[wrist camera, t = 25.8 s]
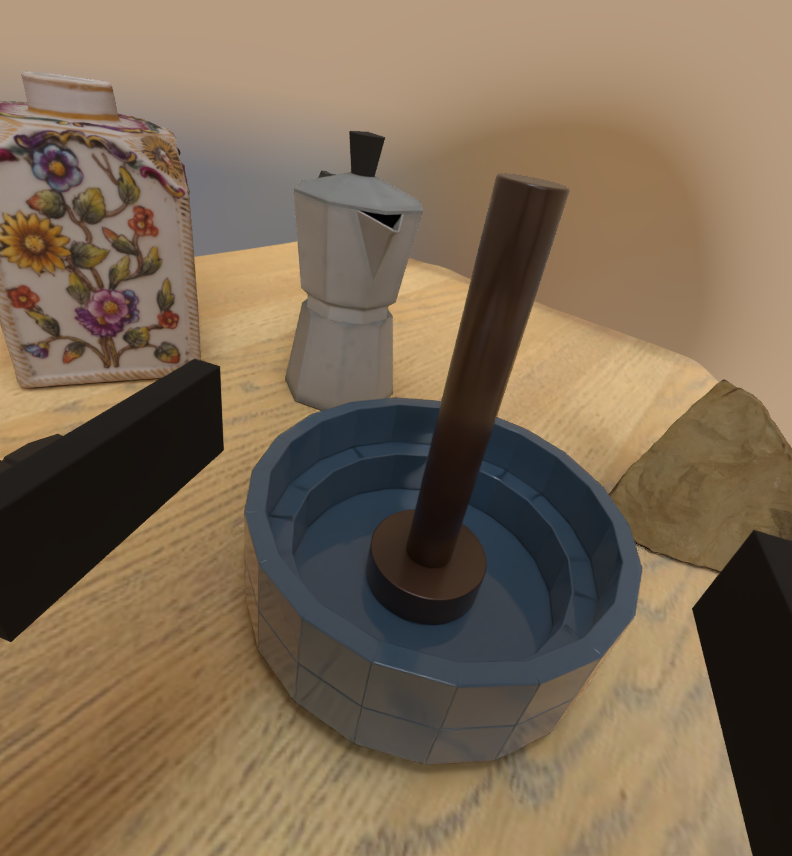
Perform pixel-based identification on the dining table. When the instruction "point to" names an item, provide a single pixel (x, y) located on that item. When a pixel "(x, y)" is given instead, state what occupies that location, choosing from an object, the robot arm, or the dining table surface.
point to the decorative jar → (92, 239)
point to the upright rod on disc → (468, 412)
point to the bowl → (439, 643)
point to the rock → (710, 481)
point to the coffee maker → (349, 279)
